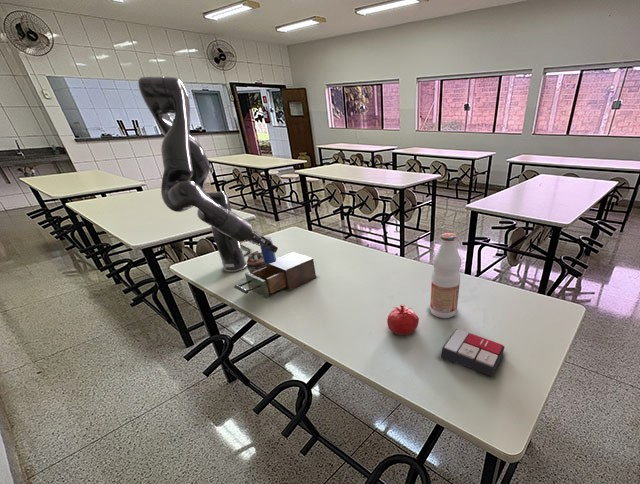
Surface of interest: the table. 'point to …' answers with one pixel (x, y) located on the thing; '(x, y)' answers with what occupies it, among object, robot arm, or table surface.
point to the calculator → (473, 352)
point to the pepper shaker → (268, 254)
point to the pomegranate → (402, 321)
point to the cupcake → (255, 262)
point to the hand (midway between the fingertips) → (272, 248)
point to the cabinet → (295, 269)
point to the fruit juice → (445, 278)
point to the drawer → (264, 281)
